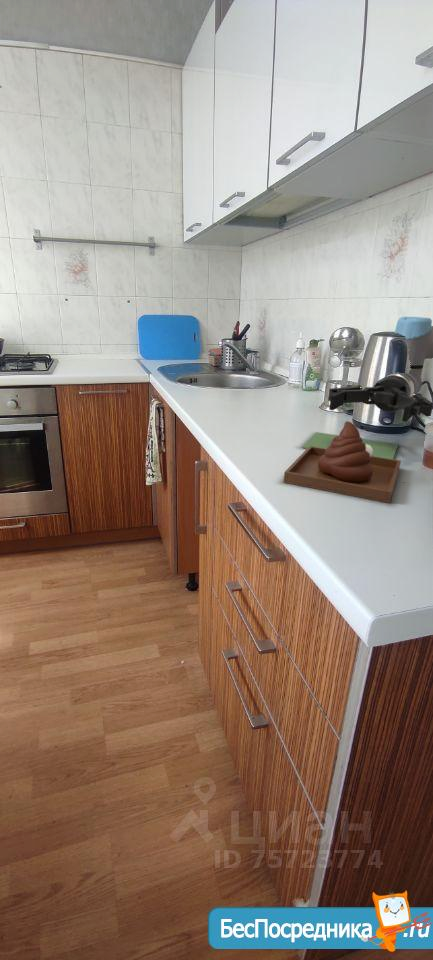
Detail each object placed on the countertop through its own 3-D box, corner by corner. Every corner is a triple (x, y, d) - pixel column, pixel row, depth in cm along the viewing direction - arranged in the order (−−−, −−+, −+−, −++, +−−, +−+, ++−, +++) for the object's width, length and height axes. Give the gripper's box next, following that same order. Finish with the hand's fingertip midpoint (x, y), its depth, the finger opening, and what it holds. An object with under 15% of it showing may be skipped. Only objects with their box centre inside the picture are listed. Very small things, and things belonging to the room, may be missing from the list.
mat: (397, 445, 102) (397, 444, 102) (391, 462, 91) (392, 461, 91) (316, 433, 109) (316, 432, 109) (302, 447, 98) (302, 446, 98)
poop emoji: (307, 469, 84) (313, 418, 81) (339, 461, 89) (345, 413, 85) (350, 487, 77) (359, 432, 73) (382, 478, 81) (392, 426, 78)
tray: (398, 470, 87) (400, 460, 86) (389, 503, 72) (391, 492, 72) (308, 454, 93) (309, 445, 93) (283, 482, 79) (284, 472, 78)
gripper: (449, 417, 99) (434, 440, 82) (336, 400, 111) (302, 417, 94) (458, 382, 96) (444, 398, 79) (340, 368, 108) (306, 379, 91)
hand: (367, 408), depth 87 cm, fingers open, 13 cm apart
